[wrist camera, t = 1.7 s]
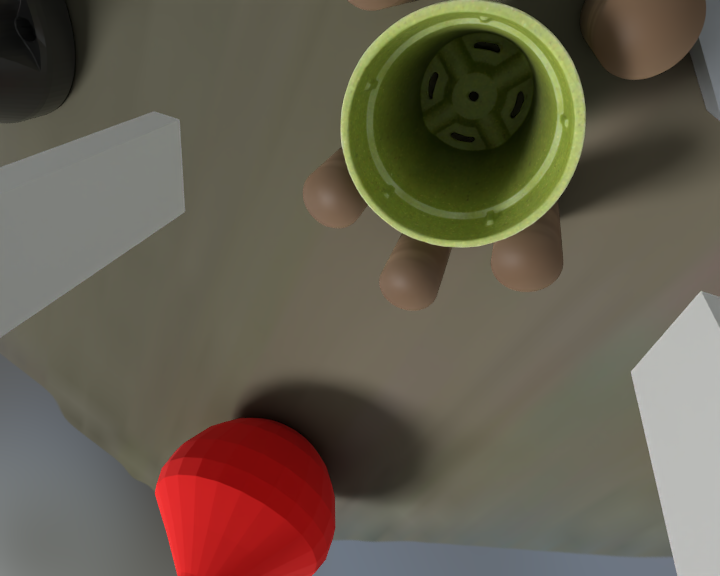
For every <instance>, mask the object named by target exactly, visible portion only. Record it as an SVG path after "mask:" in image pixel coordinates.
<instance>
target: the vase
mask: <svg viewBox="0 0 720 576" xmlns="http://www.w3.org/2000/svg"><path fill="white" fill-rule="evenodd" d="M155 496H156V499H157V502H158V506H159V509H160V512H161V516H162V519H163V522H164V526H165V529H166V532H167V536H168V540H169V544H170V547H171V551H172V555H173V559H174V563H175V567H176V571H177V575H178V576H312V575H313V574H314V573H315V572H316V571H317V569H318V568H319V567H320V566H321V565H322V563H323V562H324V561H325V560H326V557H327V554H328V551H329V548H330V545H331V542H332V539H333V535H334V531H335V495H334V491H333V487H332V483H331V480H330V477H329V474H328V471H327V467H326V465H325V463H324V462H323V460H322V458H321V457H320V455H319V454H318V452H317V451H316V449H315V448H314V447H313V445H312V444H311V443H310V442H309V441H308V440H307V439H306V438H305V437H303V436H302V435H301V434H300V433H298V432H297V431H295V430H294V429H292V428H290V427H288V426H286V425H284V424H282V423H279V422H276V421H274V420H269V419H264V418H238V419H235V420H231V421H227V422H224V423H220V424H217V425H214V426H211V427H209V428H207V429H206V430H204V431H203V432H201V433H199V434H198V435H196V436H195V437H193V438H191V439H190V440H188V441H186V442H185V443H184V444H182V445H181V446H180V447H179V448H178V449H177V450H176V451H175V452H174V454H173V455H172V456H171V457H170V459H169V460H168V461H167V463H166V464H165V465H164V466H163V468H162V470H161V473H160V476H159V479H158V482H157V486H156V490H155Z"/></svg>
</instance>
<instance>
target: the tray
mask: <svg viewBox="0 0 720 576" xmlns="http://www.w3.org/2000/svg"><path fill="white" fill-rule="evenodd" d="M705 1H706V17H705V22H704V26H703V28H702V31H701V33H700V35H699V37H698V39H697V41H696V43H695V44H694V46H693V47H692V48H691V50H690V51H689V52H690V55H691V59H692V62H693V65H694V69H695V72H696V76H697V79H698V82H699V86H700V89H701V93H702V96H703V100H704V103H705V106H706V110H707V111H708V112H710V113H711V114H712V115H713V116H714V117H716V118H717V119H718V120H719V121H720V0H705Z"/></svg>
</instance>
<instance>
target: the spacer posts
mask: <svg viewBox="0 0 720 576" xmlns="http://www.w3.org/2000/svg"><path fill="white" fill-rule="evenodd" d="M348 1H349V2H350V3H351V4H353V5H354V6H356V7H358V8H361V9H364V10H380V9H384V8H388V7H392V6H396V5H401V4H405V3H409V2H413V1H417V0H348ZM705 17H706V1H705V0H586V1H585V3H584V5H583V8H582V11H581V16H580V28H581V32H582V35H583V37H584V39H585V41H586V42H587V44H588V45H589V47H590V48H591V50H592V51H593V53H594V54H595V56H596V57H597V59H598V60H599V62H600V63H601V65H602V66H603V67H604V68H605V69H606V70H607V71H608V72H610V73H611V74H613V75H615V76H617V77H620V78H623V79H630V80H638V79H645V78H649V77H653V76H656V75H658V74H660V73H663V72H664V71H666V70H668V69H670V68H671V67H672V66H674V65H675V64H677V63H678V62H679V61H680V60H681V59H682V58H683V57H684V56H685V55H686V54H687V53H688V52H689V51H690V50H691V48H692V47H693V46H694V44H695V43H696V41H697V39H698V37H699V35H700V33H701V31H702V28H703V26H704V22H705ZM303 199H304V203H305V206H306V208H307V210H308V211H309V213H310V214H311V215H312V216H313V217H314V218H315V219H316V220H317V221H318V222H320V223H321V224H323V225H325V226H328V227H331V228H344V227H347V226H350V225H351V224H353V223H354V222H355V221H356V220H357V219H358V218H359V216H360V215H361V214H362V212H363V211H364V209H365V208H366V207H367V205H368V204H367V203H366V202H365V200H364V199H363V197H362V196H361V195H360V193H359V192H358V190H357V188H356V186H355V184H354V182H353V181H352V178H351V176H350V174H349V171H348V168H347V164H346V161H345V157H344V154H343V149H342V147H341V148H340V149H339V150H338V151H336V152H335V153H334V154H333V155H332V156H331V157H330V158H329V159H327V160H326V161H325V162H324V163H323V164H322V165H321V166H320V167H318V168H317V169H316V170H315V171H314V172H313V173H312V174H311V175H310V176H309V177H308V178H307V180H306V181H305V184H304V187H303ZM451 249H452V247H444V246H438V245H433V244H429V243H427V242H423V241H419V240H417V239H414V238H411V237H409V236H407V235H405V234H403V233H402V234H401V236H400V238H399V240H398V242H397V244H396V246H395V248H394V250H393V252H392V253H391V255H390V257H389V259H388V261H387V263H386V265H385V267H384V269H383V271H382V273H381V275H380V279H379V284H380V289H381V291H382V293H383V295H384V296H385V298H386V299H387V300H388V301H389V302H390V303H392V304H393V305H395V306H397V307H399V308H401V309H405V310H421V309H424V308H426V307H428V306H429V305H431V304H432V303H433V302H434V300H435V299H436V297H437V293H438V290H439V287H440V284H441V281H442V278H443V274H444V271H445V268H446V265H447V262H448V259H449V255H450V252H451ZM491 268H492V271H493V274H494V276H495V277H496V278H497V280H498V281H499V282H500V283H501V284H503V285H504V286H506V287H508V288H510V289H512V290H516V291H521V292H532V291H538V290H541V289H544V288H546V287H548V286H549V285H551V284H552V283H553V282H554V281H555V280H556V279H557V278H558V277H559V275H560V273H561V271H562V268H563V252H562V240H561V228H560V215H559V203H558V200H557V201H556V203H555V204H554V205H553V206H552V207H551V208H550V209H549V210H548V211H547V212H546V213H545V214H544V215H543V216H542V217H541V218H539V219H538V220H537V221H536V222H534V223H533V224H532V225H530V226H528V227H527V228H525V229H524V230H522V231H520V232H518V233H517V234H515V235H513V236H510V237H508V238H506V239H503V240H500V241H497V242H494V245H493V251H492V257H491Z"/></svg>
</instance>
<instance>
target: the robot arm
mask: <svg viewBox="0 0 720 576" xmlns="http://www.w3.org/2000/svg"><path fill="white" fill-rule="evenodd" d="M74 70H75V47H74V38H73V32H72V26H71V22H70V18H69V14H68V10H67V7H66V3H65V1H64V0H0V123H16V122H22V121H25V120H29V119H32V118H36V117H39V116H43V115H46V114H48V113H51V112H52V111H54V110H55V109H57V108H58V107H59V106H60V105H61V104H62V103H63V101H64V100H65V99H66V97H67V95H68V93H69V91H70V88H71V85H72V81H73V77H74ZM184 212H185V202H184V185H183V168H182V151H181V134H180V120H179V119H176V118H173V117H170V116H167V115H164V114H161V113H158V112H155V111H153V112H151V113H148V114H145V115H142V116H140V117H137V118H134V119H131V120H129V121H126V122H123V123H120V124H118V125H115V126H112V127H109V128H107V129H104V130H101V131H98V132H96V133H93V134H90V135H88V136H85V137H82V138H79V139H77V140H74V141H71V142H68V143H66V144H63V145H60V146H57V147H55V148H52V149H49V150H46V151H44V152H41V153H38V154H35V155H33V156H30V157H27V158H24V159H22V160H19V161H16V162H13V163H11V164H8V165H5V166H3V167H0V337H2V336H3V335H5V334H6V333H8V332H9V331H11V330H12V329H14V328H15V327H17V326H18V325H20V324H21V323H22V322H24V321H25V320H27V319H28V318H30V317H31V316H33V315H34V314H36V313H37V312H39V311H40V310H42V309H43V308H45V307H46V306H47V305H49V304H50V303H52V302H53V301H55V300H56V299H58V298H59V297H61V296H62V295H64V294H65V293H67V292H68V291H69V290H71V289H72V288H74V287H75V286H77V285H78V284H80V283H81V282H83V281H84V280H86V279H87V278H89V277H90V276H92V275H93V274H94V273H96V272H97V271H99V270H100V269H102V268H103V267H105V266H106V265H108V264H109V263H111V262H112V261H114V260H115V259H116V258H118V257H119V256H121V255H122V254H124V253H125V252H127V251H128V250H130V249H131V248H133V247H134V246H136V245H137V244H139V243H140V242H141V241H143V240H144V239H146V238H147V237H149V236H150V235H152V234H153V233H155V232H156V231H158V230H159V229H161V228H162V227H164V226H165V225H166V224H168V223H169V222H171V221H172V220H174V219H175V218H177V217H178V216H180V215H181V214H183V213H184ZM631 375H632V379H633V383H634V388H635V392H636V397H637V401H638V405H639V410H640V414H641V418H642V423H643V427H644V432H645V436H646V440H647V445H648V449H649V454H650V458H651V462H652V467H653V471H654V475H655V480H656V484H657V489H658V493H659V497H660V502H661V506H662V510H663V515H664V519H665V524H666V528H667V532H668V537H669V541H670V545H671V550H672V554H673V559H674V563H675V567H676V571H677V576H720V297H718V296H715V295H712V294H709V293H706V292H703V291H700V293H699V294H698V295H697V296H696V297H695V298H694V299H693V301H692V302H691V303H690V304H689V305H688V306H687V308H686V309H685V310H684V311H683V312H682V313H681V314H680V316H679V317H678V318H677V319H676V320H675V321H674V323H673V324H672V325H671V326H670V327H669V328H668V329H667V331H666V332H665V333H664V334H663V335H662V336H661V338H660V339H659V340H658V341H657V342H656V343H655V344H654V346H653V347H652V348H651V349H650V350H649V351H648V353H647V354H646V355H645V356H644V357H643V358H642V359H641V361H640V362H639V363H638V364H637V365H636V366H635V368H634V369H633V370H632V371H631Z"/></svg>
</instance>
